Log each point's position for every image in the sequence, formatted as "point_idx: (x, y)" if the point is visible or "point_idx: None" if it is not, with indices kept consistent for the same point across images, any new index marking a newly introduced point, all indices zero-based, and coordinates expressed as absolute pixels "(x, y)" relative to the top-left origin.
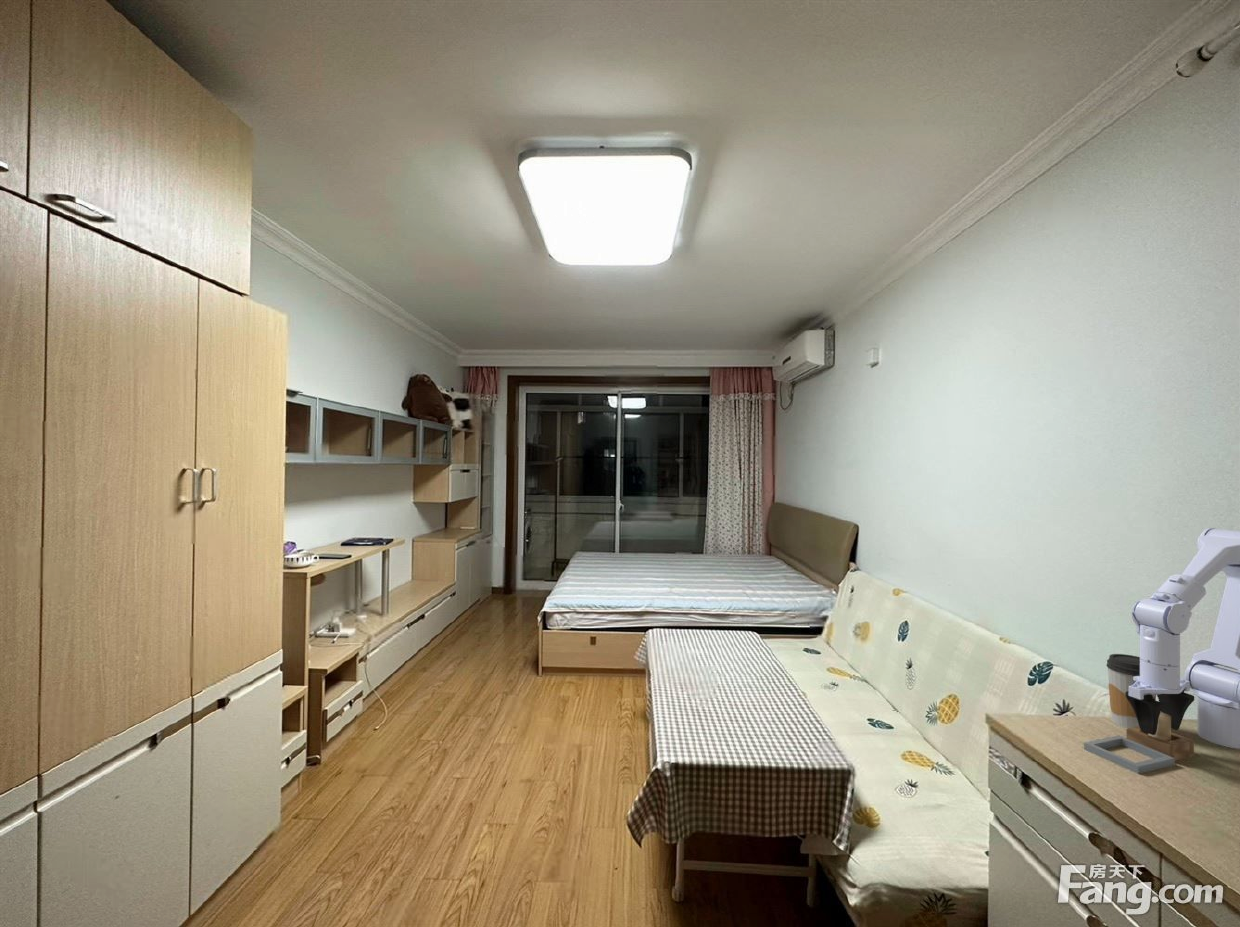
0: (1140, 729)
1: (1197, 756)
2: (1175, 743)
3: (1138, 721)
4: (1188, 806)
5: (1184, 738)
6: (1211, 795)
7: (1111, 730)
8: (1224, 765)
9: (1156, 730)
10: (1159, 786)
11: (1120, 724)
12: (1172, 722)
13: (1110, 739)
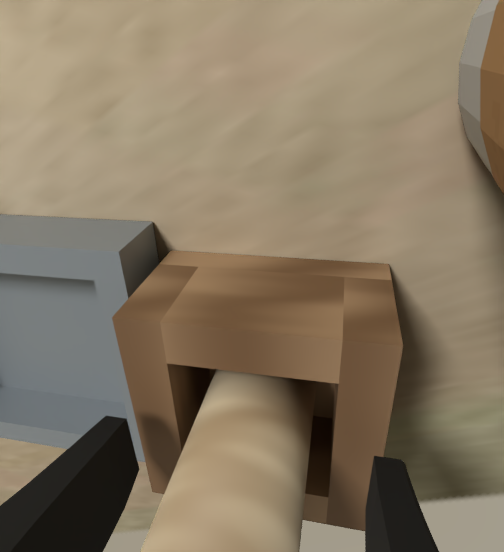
0: (103, 418)
1: (458, 418)
2: None
3: (56, 463)
4: (13, 488)
5: (351, 505)
6: (135, 503)
7: (374, 23)
8: (460, 485)
9: (120, 507)
10: None
11: (466, 48)
12: (370, 545)
13: (15, 263)
